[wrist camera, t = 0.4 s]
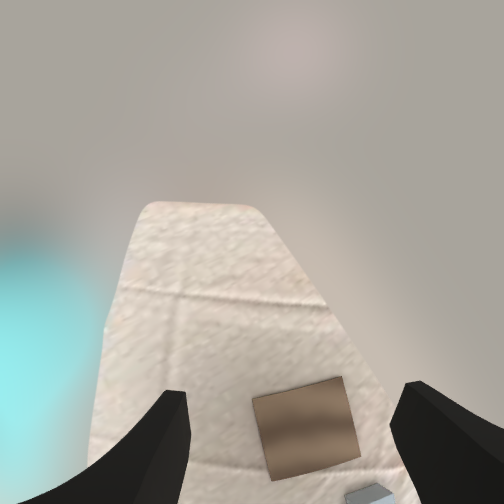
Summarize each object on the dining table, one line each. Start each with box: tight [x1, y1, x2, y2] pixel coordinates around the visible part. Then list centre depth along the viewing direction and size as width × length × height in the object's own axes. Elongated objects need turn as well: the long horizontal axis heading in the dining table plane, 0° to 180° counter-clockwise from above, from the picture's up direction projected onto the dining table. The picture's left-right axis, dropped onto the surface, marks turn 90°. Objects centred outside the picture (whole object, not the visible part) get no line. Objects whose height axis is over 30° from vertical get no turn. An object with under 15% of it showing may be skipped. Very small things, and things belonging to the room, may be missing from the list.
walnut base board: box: [252, 376, 361, 481], centre depth 31 cm, size 11×11×1 cm
